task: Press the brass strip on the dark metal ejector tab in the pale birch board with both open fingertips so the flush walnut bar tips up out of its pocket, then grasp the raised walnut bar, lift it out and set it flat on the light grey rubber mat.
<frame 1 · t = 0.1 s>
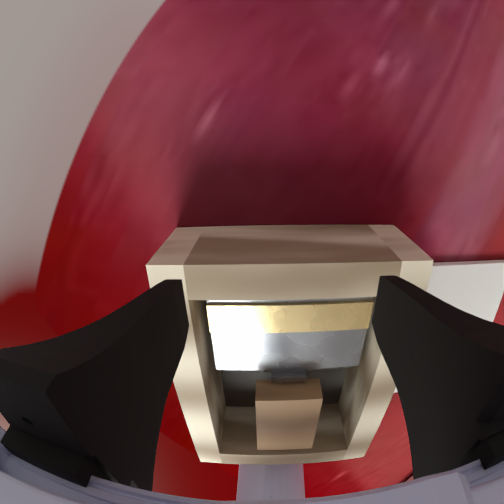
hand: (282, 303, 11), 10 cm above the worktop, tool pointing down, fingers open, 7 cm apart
walnut bar: (286, 408, 21), point 4 cm above the worktop, touching ejector tab
pocket board: (285, 334, 23), on the worktop
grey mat: (452, 329, 23), on the worktop
ejector tab: (287, 377, 20), point 4 cm above the worktop, hinge at 0.0°, touching walnut bar
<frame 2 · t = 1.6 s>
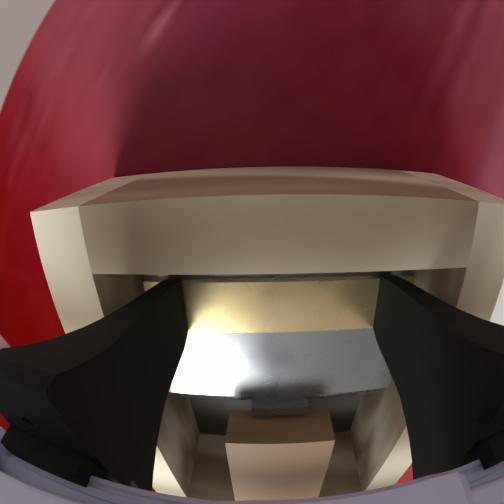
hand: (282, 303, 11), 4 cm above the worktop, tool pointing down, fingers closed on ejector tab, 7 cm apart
walnut bar: (277, 452, 13), point 4 cm above the worktop, tilted 6°, touching ejector tab
pocket board: (277, 341, 16), on the worktop
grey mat: (498, 329, 15), on the worktop
ejector tab: (279, 408, 13), point 4 cm above the worktop, hinge at 5.7°, touching gripper, walnut bar
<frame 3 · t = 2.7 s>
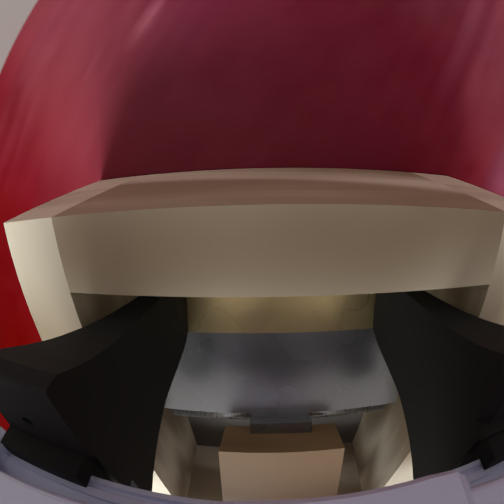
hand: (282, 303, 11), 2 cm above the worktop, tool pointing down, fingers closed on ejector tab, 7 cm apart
walnut bar: (278, 484, 11), point 6 cm above the worktop, tilted 25°, touching ejector tab
pocket board: (278, 354, 15), on the worktop
ejector tab: (280, 430, 11), point 4 cm above the worktop, hinge at 24.7°, touching gripper, walnut bar
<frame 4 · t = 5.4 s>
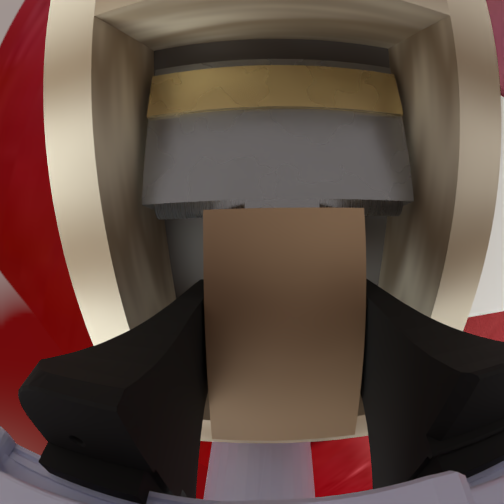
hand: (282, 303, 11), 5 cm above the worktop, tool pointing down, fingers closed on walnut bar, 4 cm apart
walnut bar: (283, 321, 10), point 6 cm above the worktop, tilted 24°, touching ejector tab, gripper
pocket board: (276, 184, 14), on the worktop
ejector tab: (281, 228, 10), point 4 cm above the worktop, hinge at 24.4°, touching walnut bar
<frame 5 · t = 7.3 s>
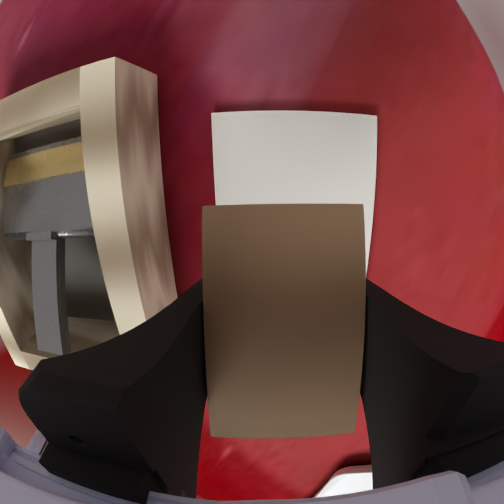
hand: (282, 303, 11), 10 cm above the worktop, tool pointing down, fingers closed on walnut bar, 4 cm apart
walnut bar: (282, 318, 10), point 10 cm above the worktop, tilted 24°, touching gripper
salad plate: (369, 481, 36), on the worktop
pocket board: (75, 215, 20), on the worktop
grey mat: (296, 221, 19), on the worktop
ejector tab: (45, 246, 16), point 4 cm above the worktop, hinge at 24.4°
when the fingers open (2 cm above the worktop, at t = 9.3 s): walnut bar drops 3 cm, resting on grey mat.
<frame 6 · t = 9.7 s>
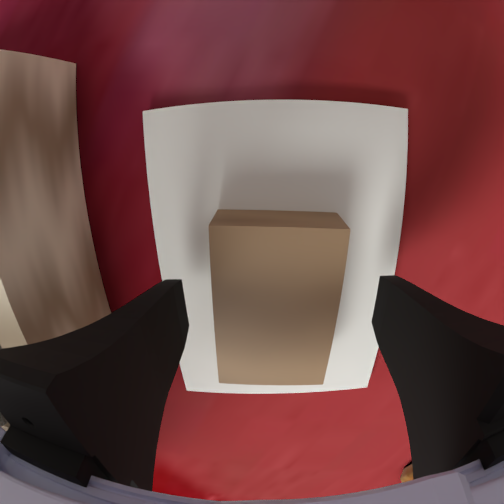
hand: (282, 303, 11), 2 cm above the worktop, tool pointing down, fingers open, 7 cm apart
walnut bar: (274, 292, 13), point 1 cm above the worktop, touching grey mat
pocket board: (2, 255, 13), on the worktop
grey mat: (279, 273, 13), on the worktop
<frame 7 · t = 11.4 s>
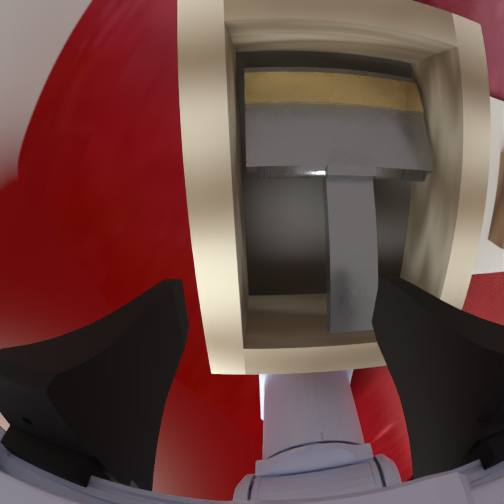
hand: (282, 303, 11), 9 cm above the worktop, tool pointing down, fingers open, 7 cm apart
pocket board: (331, 161, 18), on the worktop
ejector tab: (349, 186, 14), point 4 cm above the worktop, hinge at 24.4°
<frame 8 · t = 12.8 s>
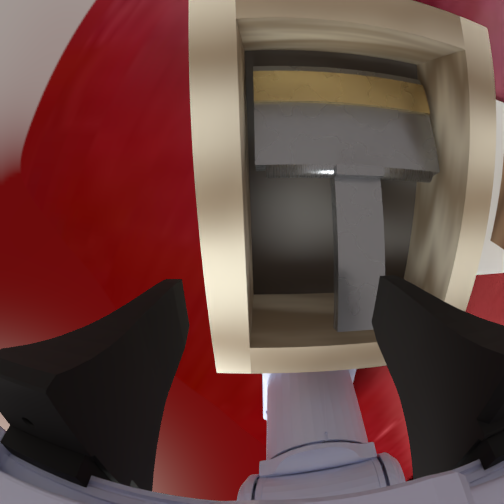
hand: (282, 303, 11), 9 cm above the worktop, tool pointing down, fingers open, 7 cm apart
pocket board: (338, 161, 18), on the worktop
ejector tab: (357, 186, 14), point 4 cm above the worktop, hinge at 24.4°
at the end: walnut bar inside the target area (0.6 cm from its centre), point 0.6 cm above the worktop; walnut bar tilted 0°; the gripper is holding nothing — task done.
